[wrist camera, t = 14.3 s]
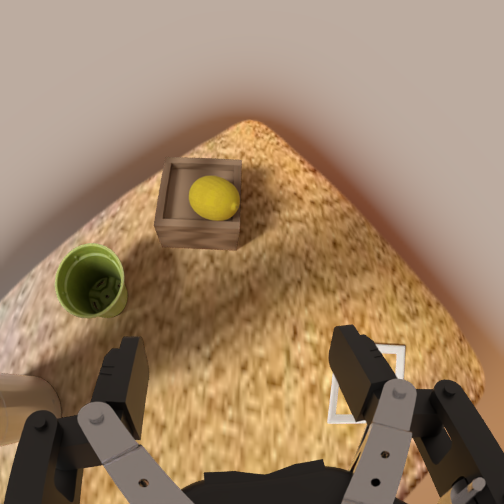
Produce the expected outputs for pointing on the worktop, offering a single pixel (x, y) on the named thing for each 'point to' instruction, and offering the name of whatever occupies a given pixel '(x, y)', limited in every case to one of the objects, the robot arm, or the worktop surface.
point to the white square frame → (332, 415)
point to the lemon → (214, 198)
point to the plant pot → (91, 282)
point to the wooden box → (182, 214)
